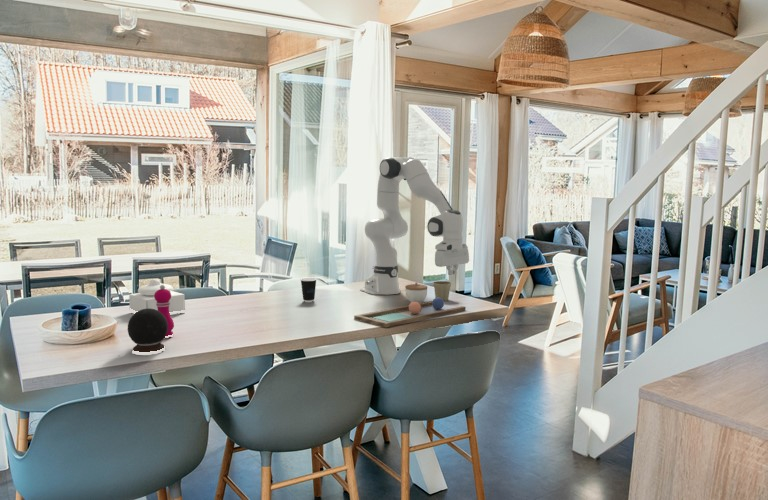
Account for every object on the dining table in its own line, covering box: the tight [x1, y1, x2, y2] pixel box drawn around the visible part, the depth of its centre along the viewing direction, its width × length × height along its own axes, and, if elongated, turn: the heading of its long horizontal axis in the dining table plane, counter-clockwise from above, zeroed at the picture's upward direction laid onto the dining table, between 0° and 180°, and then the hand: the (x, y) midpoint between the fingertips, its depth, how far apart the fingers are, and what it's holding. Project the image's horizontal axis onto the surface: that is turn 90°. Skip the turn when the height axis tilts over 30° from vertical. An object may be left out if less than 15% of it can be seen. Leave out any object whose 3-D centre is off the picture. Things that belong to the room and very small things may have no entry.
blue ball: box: [431, 297, 445, 310], centre depth 290 cm, size 6×6×6 cm
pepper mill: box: [154, 285, 175, 336], centre depth 239 cm, size 7×7×20 cm
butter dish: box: [128, 278, 186, 312], centre depth 281 cm, size 18×18×16 cm
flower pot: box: [432, 280, 453, 302], centre depth 312 cm, size 9×9×9 cm
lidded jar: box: [404, 282, 428, 304], centre depth 307 cm, size 11×11×9 cm
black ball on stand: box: [127, 308, 168, 352], centre depth 220 cm, size 13×13×15 cm
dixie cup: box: [300, 277, 318, 303], centre depth 308 cm, size 8×8×11 cm
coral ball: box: [408, 302, 422, 315], centre depth 280 cm, size 6×6×6 cm
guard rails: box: [353, 300, 466, 328], centre depth 279 cm, size 20×49×2 cm, turn 132°
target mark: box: [371, 312, 413, 322], centre depth 272 cm, size 14×14×1 cm
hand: (452, 274), depth 295 cm, fingers closed
